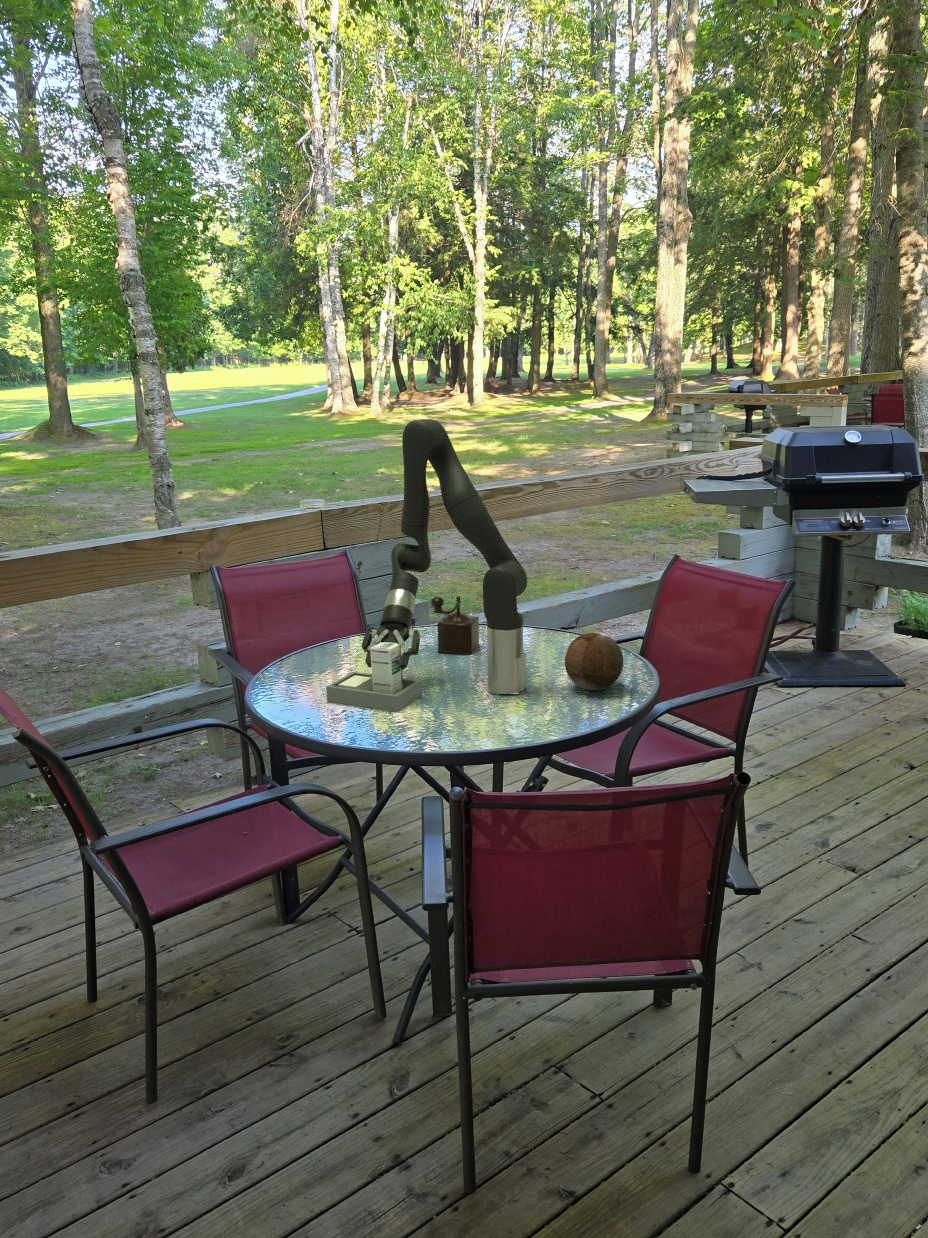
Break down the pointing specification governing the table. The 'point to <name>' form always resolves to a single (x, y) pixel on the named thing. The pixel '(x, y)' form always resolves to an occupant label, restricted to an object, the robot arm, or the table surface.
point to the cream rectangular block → (358, 683)
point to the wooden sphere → (594, 661)
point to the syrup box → (386, 668)
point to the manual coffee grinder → (456, 630)
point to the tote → (374, 695)
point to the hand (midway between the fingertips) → (385, 667)
